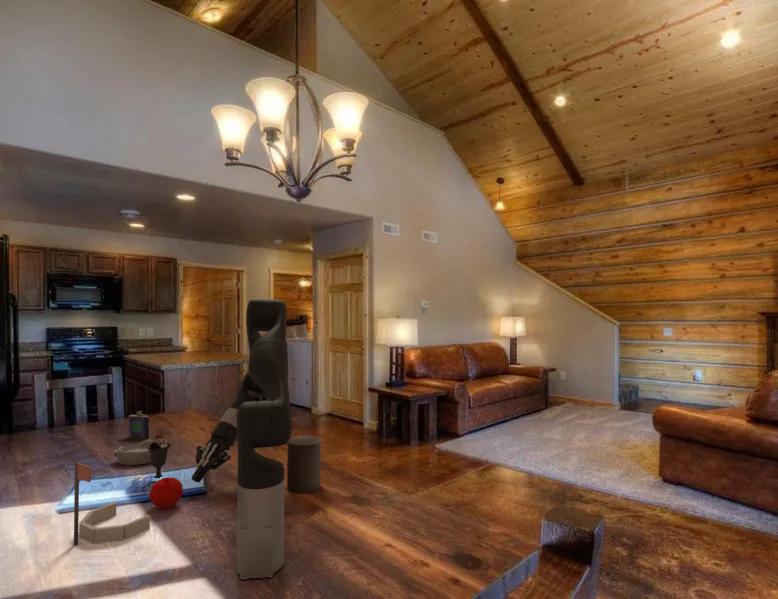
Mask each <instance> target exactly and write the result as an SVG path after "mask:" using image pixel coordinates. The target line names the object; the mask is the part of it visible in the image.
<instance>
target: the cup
mask: <svg viewBox="0 0 778 599" xmlns="http://www.w3.org/2000/svg"><path fill="white" fill-rule="evenodd" d="M91 474H92V467H91V466H89V465H86V464H83V463H80V461H76V462H74V497H73V498H74V500H73V501H74V503H73V505H74V507H73V508H74V510H73V518H74V519H73V546H77V545H79V538H80V539H83V540H85V541H87V542H89V543H91V544H95V545H96V544H103V543H112V542H118V541H119V542H120V541H124V540H128V539H130V538H132V537H134V536H136V535H139V534H141V533H143V532H145V531H148V530H150V528H151V515H149V514H147V515H144V516H142V517H140V518H136V519H134V520H132V521H130V522H127V523H125V524H118V525H111V526H101V527H96V526H94V525H95V524H97V523H100V522H103V521H105V520H108V519H110V518H113V517H116V516H117V502H111V503H109V504H106V505H103V506H101V507H98V508H95V509H92V510H90V511H89V512H87V513H86V514H85V516H84V517H83V518H82V519H81V520H80V521H79V514H80V513H79V512H80V510H79V508H80V507H79V506H80V503H79V502H80V501H79V500H80V480H82V481H84V482H87V483H92V475H91Z"/></svg>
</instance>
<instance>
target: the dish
mask: <svg viewBox="0 0 778 599" xmlns="http://www.w3.org/2000/svg"><path fill="white" fill-rule="evenodd" d="M152 440H153V439H151V440H150V439H148V440H143V441H141V443H140V444H139V445H138V446H137V447H136V448H134V449H128V448H126V447H125V446H123V445H121V446H119V447H118V448H117V449H114V450H113V456H114V457H117V460H118V463H119V464H120V465H122V466H123V465H125V466H137V465H145V464H151V460H150V453H149V449H147V447H148V446H149V445H150V444H151V442H152Z"/></svg>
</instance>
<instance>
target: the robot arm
mask: <svg viewBox="0 0 778 599" xmlns="http://www.w3.org/2000/svg"><path fill="white" fill-rule="evenodd" d="M287 310H288V309H287V306H286V304H285V301H283V300H280V299H271V298H251V299H250V300H249V301H248V303H247V306H246V313H245V314H246V315H245V316H246V317H245V324H246V325H245V326H246V327H245V328H246V336H247V342H248V343H247V344H248V349H249V354H248V366H247V367H248V369H247V370H248V371H247V372H245V374H244V375H243V379H242V382H241V384H240V388H239V391H238V393H237V395H236V397H235V398H234V400H233V401H232V403H231V405H230V406H229V408H228V409H227V410H226V412H225V413H224V414H223V415H222V417H221V418H220V419H219V421H218V423H217V424H216V425H215V427H214V428H213V430H212V431H211V433H210V436H211V437H210V439H209V440H207V442H206V443H205V444H204V445H202V446H201V445H198V446H197V447H196V455H195V463H196V464H197V466H198V467H197V468H196V470H195V471H194V473H192V476H191V480H192V481H193V482H195V483H198V484H199V483H201V481H202V480H203V479H204V477H205V476H206V475H207V472H210V471H211V470H213V471H215V470H216V469H217V468H219V467H220V466H222V465H224V464H225V463H226V462H228V461H229V460H231V459H232V458H231V457H232V456H231V455H230V453H229V451H230V447H234V446H235V444H236V443H237V444H236V446H237V478H236V480H237V482H236V485H237V487H236V488H237V491H236V492H237V494H236V496H237V498H236V501H237V502H236V504H237V505H236V571H237V574H238V573H239V574H240V575H239V574H238V575H239V579H242V578H253V577H254V578H255V577H256V578H257V577H258V578H259V577H270V576H273V577H274V575H275V574H276V573H277V572H276V571H277V570H279V569H280V568H281V567H282V565H283V566H284V564H285V466H284V464H283V463H282V462H281V461H280V460H277V459H274V458H269V457H266V456H264V455H262V454H260V453H259V452H258V451H256V450H255V449H261V448H272V447H273V448H274V447H275V448H276V447H281V446H285V445H286V444H287V445H288V441H289V440H290V438H292V432H293V416H292V415H293V414H292V408H291V399H290V392H289V381H288V380H289V356H288V348H287V347H288V346H287V324H288V323H287V322H288V311H287ZM260 332H265V333H264V334H263V335H261V334H260ZM249 393H253V394H255V395H257V396H259V397H263V398H268V397H269V398H270V400H258V401H257V400H256V399H254V397H252V396H251V395H250V394H249ZM283 563H284V564H283ZM282 568H283V567H282ZM282 568H281V569H282ZM281 569H280V570H281ZM280 570H279V571H280ZM275 572H276V573H275ZM274 573H275V574H274ZM273 574H274V575H273Z"/></svg>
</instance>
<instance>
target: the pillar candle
mask: <svg viewBox="0 0 778 599" xmlns="http://www.w3.org/2000/svg"><path fill="white" fill-rule="evenodd" d="M321 452H322V438H320V437H318V436H315V435H306V434H305V435H298V436H293V437H292V436H291V437H290V440H289V441H288V443H287V462H286V467H287V468H286V472H287V473H286V474H287V475H286V477H287V478H286V480H287V481H286V482H287V483H286V489H287V490H288V491H289V492H291V493H294V492H295V493H294V494H308V493H313V492H315V491H317V490H318V489H319V488H320V487H321V468H322V467H321V462H322V460H321V459H322V457H321V456H322V454H321ZM307 492H308V493H307Z"/></svg>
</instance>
